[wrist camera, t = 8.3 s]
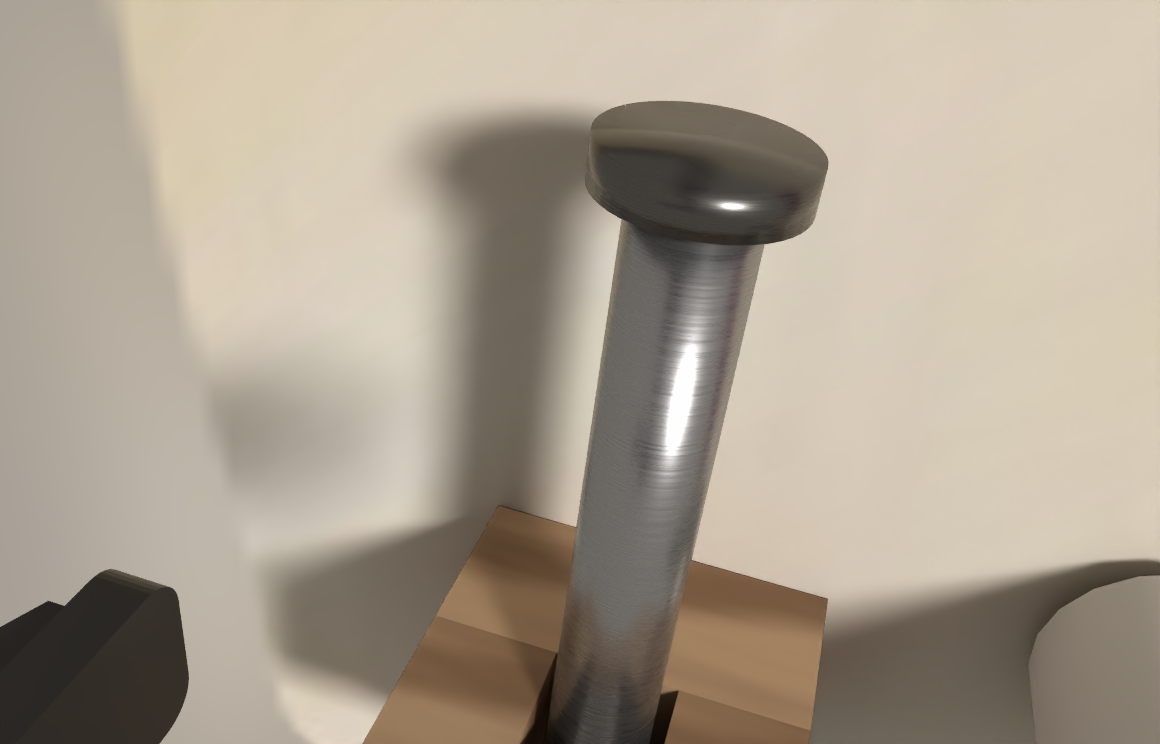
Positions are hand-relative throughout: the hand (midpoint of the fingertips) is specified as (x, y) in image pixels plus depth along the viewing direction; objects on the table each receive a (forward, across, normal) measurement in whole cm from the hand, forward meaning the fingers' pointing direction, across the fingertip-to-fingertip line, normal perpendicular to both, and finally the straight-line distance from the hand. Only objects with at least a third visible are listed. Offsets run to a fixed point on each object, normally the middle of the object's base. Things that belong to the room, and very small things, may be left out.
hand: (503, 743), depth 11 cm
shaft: (+14, 0, +7) cm, 16 cm away
